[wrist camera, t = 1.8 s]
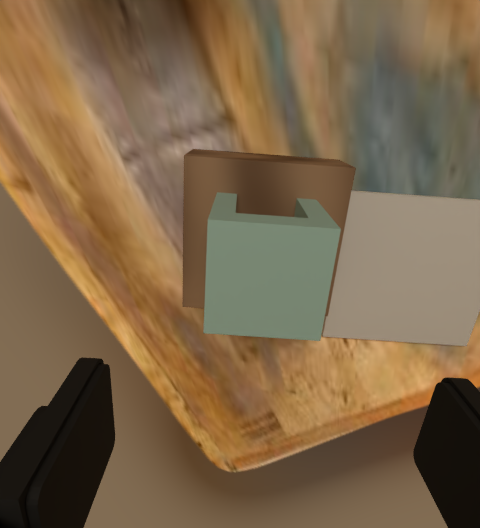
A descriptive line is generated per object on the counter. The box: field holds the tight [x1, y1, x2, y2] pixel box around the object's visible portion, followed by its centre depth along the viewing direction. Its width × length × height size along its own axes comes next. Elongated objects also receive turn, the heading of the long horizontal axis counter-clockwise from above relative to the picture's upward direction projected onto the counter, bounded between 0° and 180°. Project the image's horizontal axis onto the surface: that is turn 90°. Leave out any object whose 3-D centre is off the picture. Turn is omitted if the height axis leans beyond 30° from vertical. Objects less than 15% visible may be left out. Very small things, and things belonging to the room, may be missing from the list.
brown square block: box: [183, 149, 356, 316], centre depth 25 cm, size 10×10×4 cm
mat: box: [322, 190, 480, 346], centre depth 28 cm, size 12×12×1 cm
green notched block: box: [204, 192, 341, 341], centre depth 20 cm, size 6×6×6 cm
